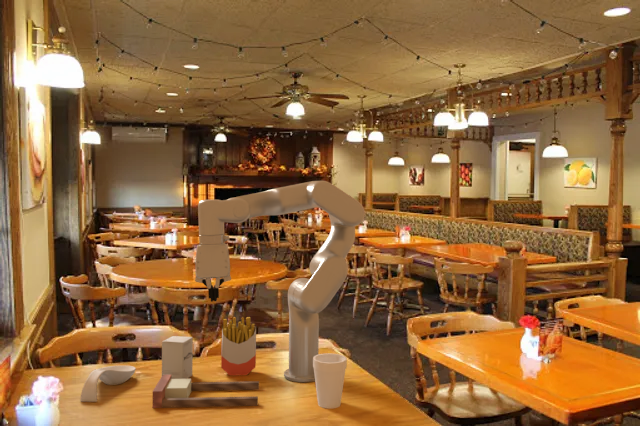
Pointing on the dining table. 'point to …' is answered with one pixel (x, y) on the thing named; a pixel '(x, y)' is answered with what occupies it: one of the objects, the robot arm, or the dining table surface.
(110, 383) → the spoon rest
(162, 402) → the guide track
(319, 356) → the foam cup
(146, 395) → the dining table surface
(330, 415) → the dining table surface
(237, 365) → the french fries container
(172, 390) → the block
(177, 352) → the supplement box
